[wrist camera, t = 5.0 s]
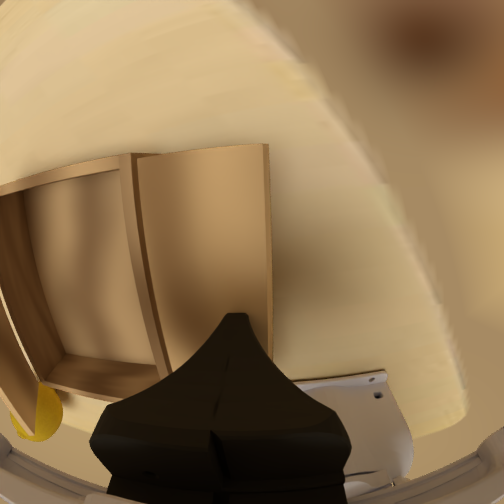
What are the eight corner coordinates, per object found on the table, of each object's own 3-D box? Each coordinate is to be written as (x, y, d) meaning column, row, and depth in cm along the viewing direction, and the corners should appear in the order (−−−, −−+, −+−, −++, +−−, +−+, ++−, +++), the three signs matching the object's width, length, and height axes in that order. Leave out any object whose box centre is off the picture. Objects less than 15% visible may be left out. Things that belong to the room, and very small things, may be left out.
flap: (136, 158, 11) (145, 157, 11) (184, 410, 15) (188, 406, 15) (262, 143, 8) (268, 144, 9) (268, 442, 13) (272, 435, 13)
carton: (162, 153, 15) (130, 153, 11) (191, 367, 20) (180, 411, 15) (22, 182, 15) (-19, 192, 11) (66, 353, 20) (42, 384, 16)
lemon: (55, 405, 23) (27, 451, 15) (26, 369, 21) (-9, 413, 14) (83, 405, 22) (53, 459, 15) (51, 365, 21) (11, 418, 13)
